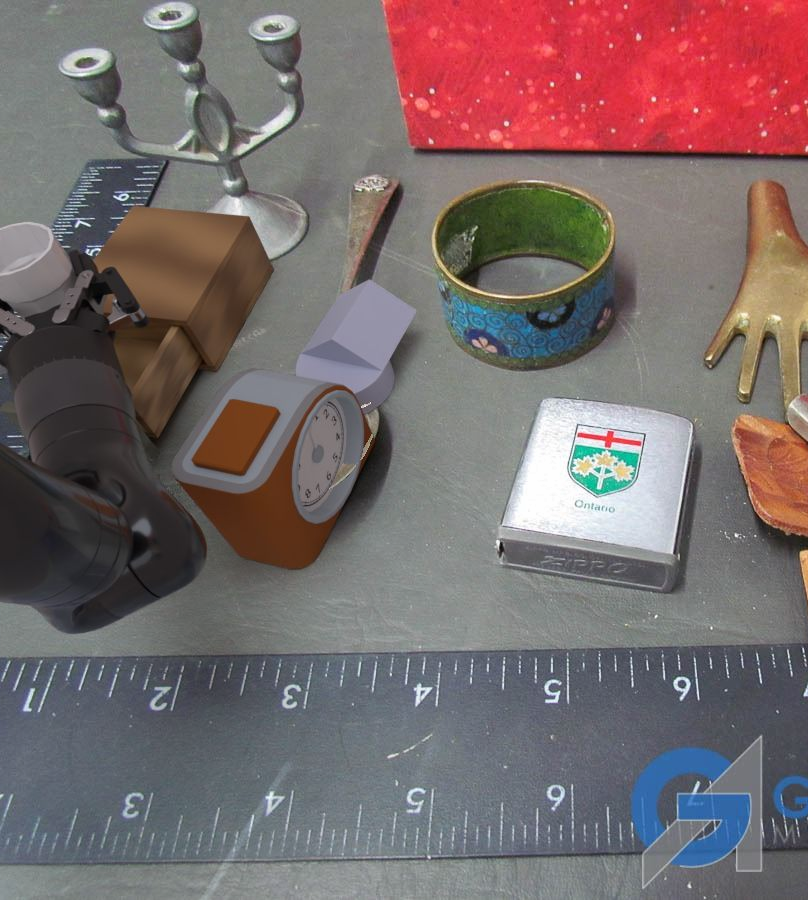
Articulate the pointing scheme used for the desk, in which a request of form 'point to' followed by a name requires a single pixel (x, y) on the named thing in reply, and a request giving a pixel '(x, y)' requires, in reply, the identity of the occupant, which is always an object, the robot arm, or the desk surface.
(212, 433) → the alarm clock
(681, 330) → the desk surface
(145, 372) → the drawer
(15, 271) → the cup
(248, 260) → the cabinet
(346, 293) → the wedge on round base
